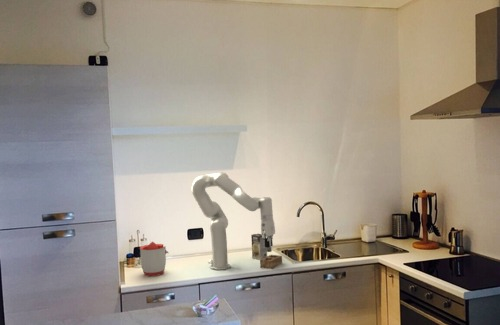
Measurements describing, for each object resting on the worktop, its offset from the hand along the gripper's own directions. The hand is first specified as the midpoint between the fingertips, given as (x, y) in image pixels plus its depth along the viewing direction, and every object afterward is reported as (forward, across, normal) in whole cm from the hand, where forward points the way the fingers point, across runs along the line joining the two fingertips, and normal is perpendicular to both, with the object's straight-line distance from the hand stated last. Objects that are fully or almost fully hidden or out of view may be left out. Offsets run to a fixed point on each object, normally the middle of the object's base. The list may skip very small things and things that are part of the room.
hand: (268, 246), depth 292 cm
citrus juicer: (+11, -40, +59) cm, 72 cm away
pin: (+3, 0, 0) cm, 3 cm away
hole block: (+13, +3, +1) cm, 13 cm away
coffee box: (+13, +16, +17) cm, 27 cm away
